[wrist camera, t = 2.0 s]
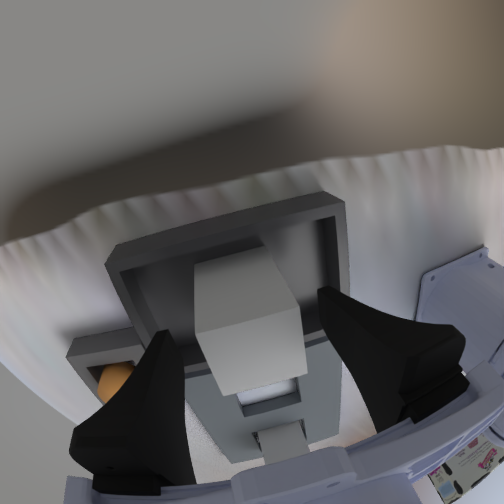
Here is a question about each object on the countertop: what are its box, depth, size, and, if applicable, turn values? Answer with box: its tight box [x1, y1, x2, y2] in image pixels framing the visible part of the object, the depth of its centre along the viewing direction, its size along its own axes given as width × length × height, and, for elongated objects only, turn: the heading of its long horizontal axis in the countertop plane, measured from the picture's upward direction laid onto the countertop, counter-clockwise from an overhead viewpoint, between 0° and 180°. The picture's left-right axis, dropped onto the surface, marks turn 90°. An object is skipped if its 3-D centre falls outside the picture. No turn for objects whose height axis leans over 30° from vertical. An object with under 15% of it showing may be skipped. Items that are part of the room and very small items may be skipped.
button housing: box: [66, 327, 146, 405], centre depth 17 cm, size 6×6×2 cm
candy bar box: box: [427, 433, 504, 504], centre depth 23 cm, size 11×5×16 cm, turn 97°
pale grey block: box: [194, 246, 308, 396], centre depth 14 cm, size 4×4×6 cm
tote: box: [104, 191, 350, 373], centre depth 16 cm, size 12×8×2 cm
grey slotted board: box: [185, 336, 342, 464], centre depth 23 cm, size 12×16×1 cm
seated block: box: [257, 420, 310, 465], centre depth 22 cm, size 4×4×6 cm
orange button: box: [97, 362, 135, 403], centre depth 16 cm, size 3×3×2 cm
